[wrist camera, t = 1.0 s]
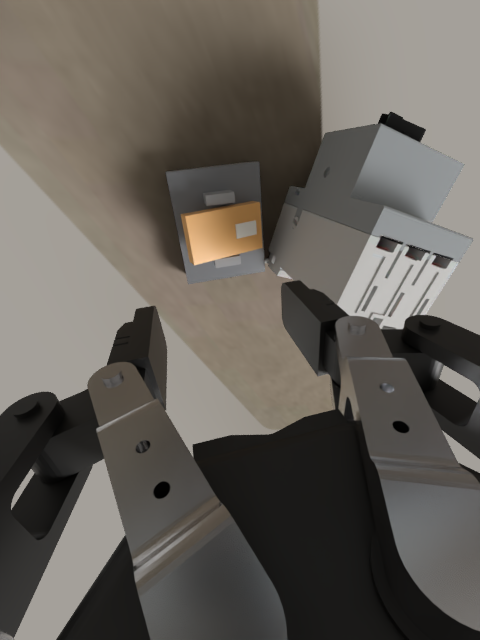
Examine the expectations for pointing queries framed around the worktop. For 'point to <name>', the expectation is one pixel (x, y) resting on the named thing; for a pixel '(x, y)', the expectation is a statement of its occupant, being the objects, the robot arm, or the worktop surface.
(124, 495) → the robot arm
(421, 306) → the electrical contactor
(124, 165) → the worktop surface
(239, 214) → the block
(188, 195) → the switch box
